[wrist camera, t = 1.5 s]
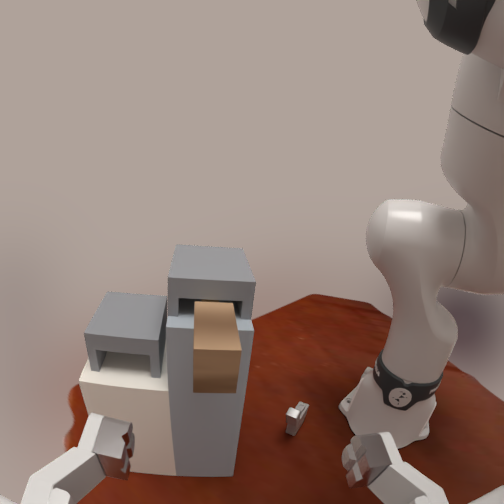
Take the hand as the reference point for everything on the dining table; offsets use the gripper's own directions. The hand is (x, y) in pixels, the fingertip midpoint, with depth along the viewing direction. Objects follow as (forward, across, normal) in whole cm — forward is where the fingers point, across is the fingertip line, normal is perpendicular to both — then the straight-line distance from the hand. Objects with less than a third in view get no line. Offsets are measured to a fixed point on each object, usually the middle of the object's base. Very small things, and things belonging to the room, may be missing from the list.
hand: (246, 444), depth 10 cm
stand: (+20, +5, +34) cm, 40 cm away
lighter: (+24, -14, +34) cm, 44 cm away
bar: (+17, +1, +8) cm, 19 cm away
